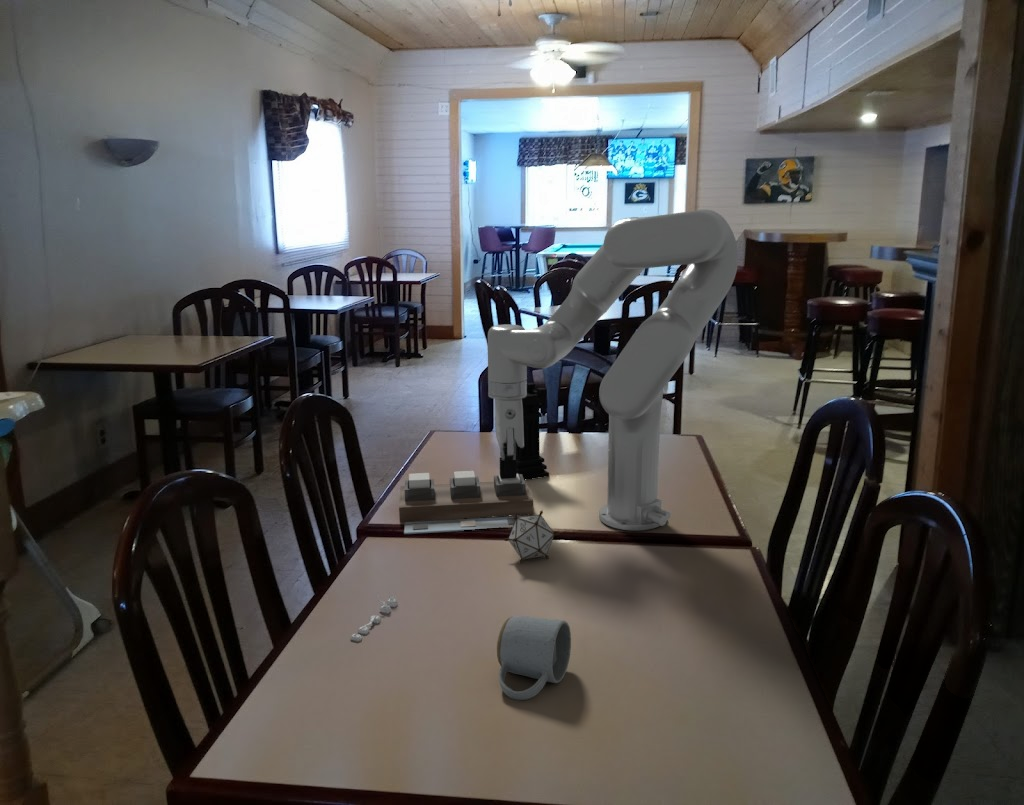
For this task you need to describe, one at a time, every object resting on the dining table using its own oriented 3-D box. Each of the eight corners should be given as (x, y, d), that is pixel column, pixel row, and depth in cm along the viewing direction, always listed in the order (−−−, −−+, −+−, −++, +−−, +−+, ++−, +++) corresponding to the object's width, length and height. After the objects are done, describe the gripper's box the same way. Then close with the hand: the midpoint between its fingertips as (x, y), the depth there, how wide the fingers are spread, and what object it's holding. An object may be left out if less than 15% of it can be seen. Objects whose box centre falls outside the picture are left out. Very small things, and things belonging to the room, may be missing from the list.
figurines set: (361, 645, 113) (359, 627, 112) (343, 641, 114) (342, 623, 113) (401, 604, 124) (400, 587, 123) (385, 601, 125) (384, 584, 124)
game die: (539, 581, 138) (552, 552, 131) (494, 562, 139) (504, 532, 131) (555, 540, 144) (569, 510, 136) (512, 522, 145) (522, 491, 137)
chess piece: (501, 471, 184) (500, 385, 179) (533, 466, 187) (532, 382, 182) (516, 481, 177) (515, 393, 172) (549, 476, 180) (549, 389, 175)
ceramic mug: (515, 651, 110) (514, 600, 108) (572, 663, 107) (572, 611, 105) (484, 696, 100) (482, 641, 98) (546, 710, 97) (545, 653, 95)
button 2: (520, 491, 160) (520, 480, 160) (500, 492, 160) (500, 481, 159) (518, 484, 164) (518, 473, 164) (498, 485, 164) (498, 474, 163)
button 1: (429, 490, 158) (429, 479, 158) (409, 491, 158) (408, 480, 157) (429, 484, 162) (429, 472, 162) (409, 485, 162) (409, 473, 161)
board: (537, 526, 152) (537, 499, 150) (398, 534, 149) (397, 507, 148) (525, 493, 169) (525, 469, 168) (401, 499, 166) (399, 475, 165)
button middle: (475, 488, 159) (475, 477, 159) (455, 489, 159) (454, 478, 158) (474, 481, 163) (473, 470, 162) (454, 482, 163) (454, 471, 162)
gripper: (531, 396, 150) (531, 489, 155) (521, 379, 165) (522, 464, 169) (491, 398, 150) (492, 491, 154) (485, 380, 164) (486, 466, 168)
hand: (508, 477), depth 162 cm, fingers closed
